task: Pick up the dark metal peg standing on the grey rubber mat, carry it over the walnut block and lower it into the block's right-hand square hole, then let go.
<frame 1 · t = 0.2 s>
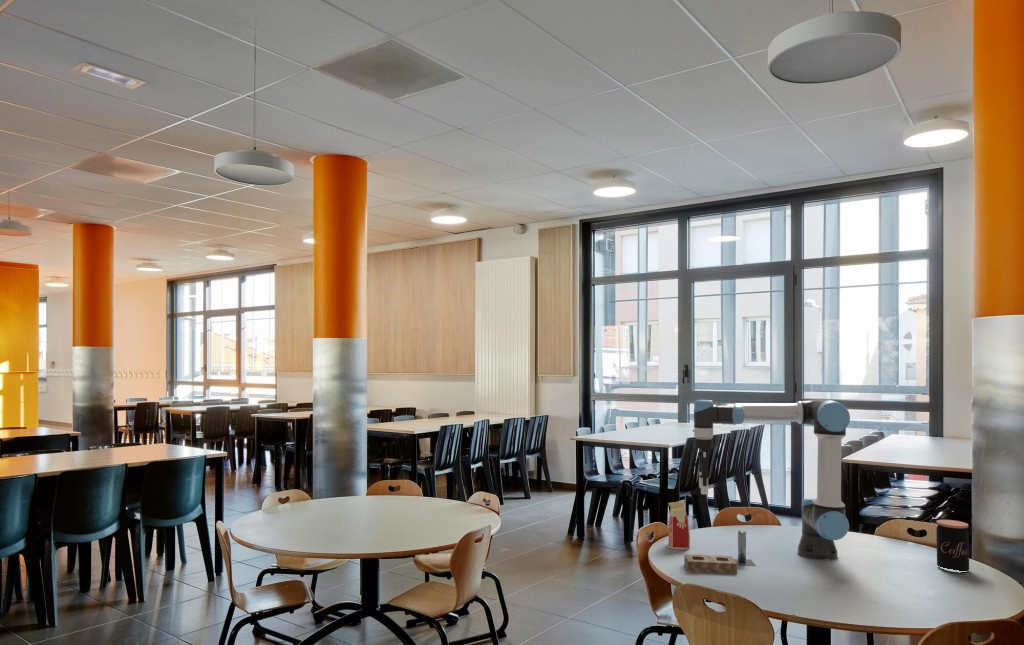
hand: (703, 491, 280), 27 cm above the table, fingers open, 13 cm apart
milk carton: (678, 547, 297), on the table
mat: (742, 563, 274), on the table
hole block: (710, 569, 266), on the table
coffee jar: (953, 570, 270), on the table
peg: (742, 562, 274), resting on mat
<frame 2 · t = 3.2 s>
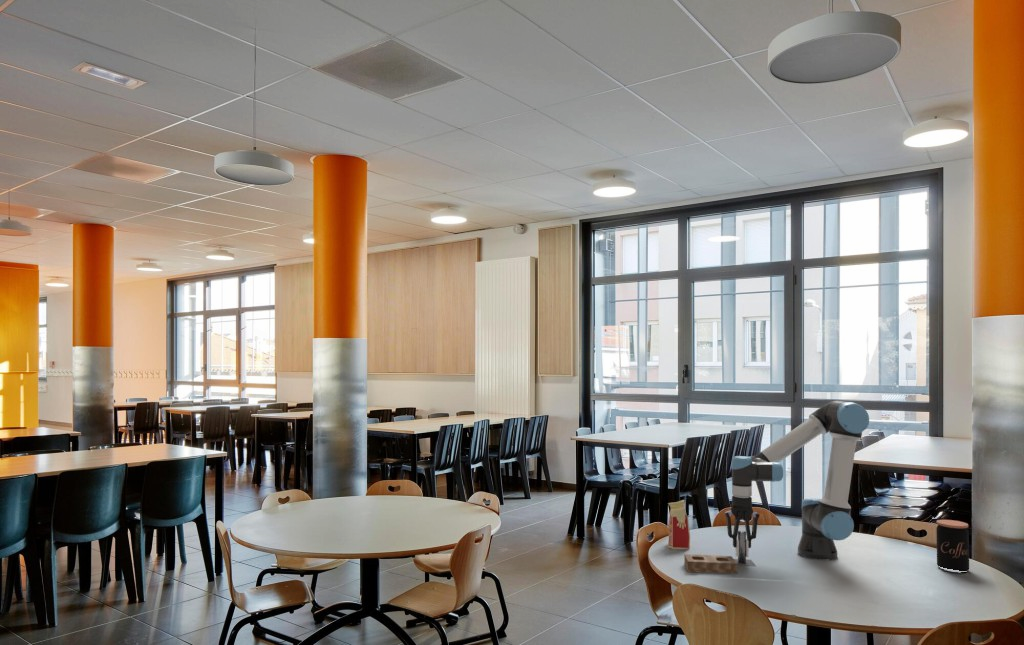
hand: (741, 555, 274), 3 cm above the table, fingers closed on peg, 3 cm apart
peg: (742, 562, 274), resting on mat, touching gripper
everything else where it was.
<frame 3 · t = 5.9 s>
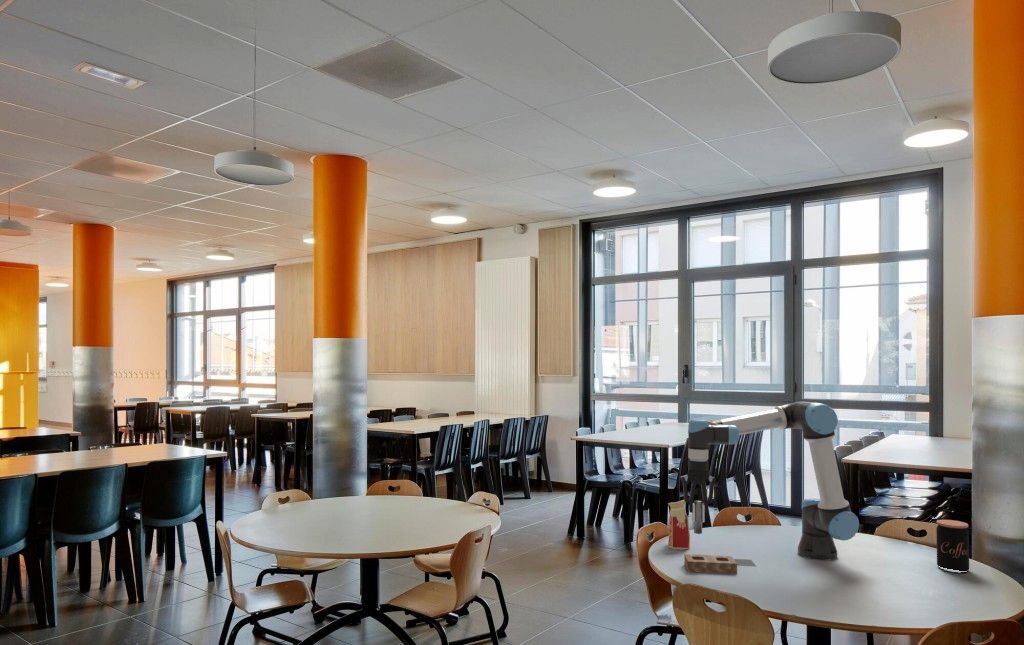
hand: (698, 521, 267), 18 cm above the table, fingers closed on peg, 3 cm apart
peg: (698, 532, 267), point 14 cm above the table, touching gripper
everything else where it was.
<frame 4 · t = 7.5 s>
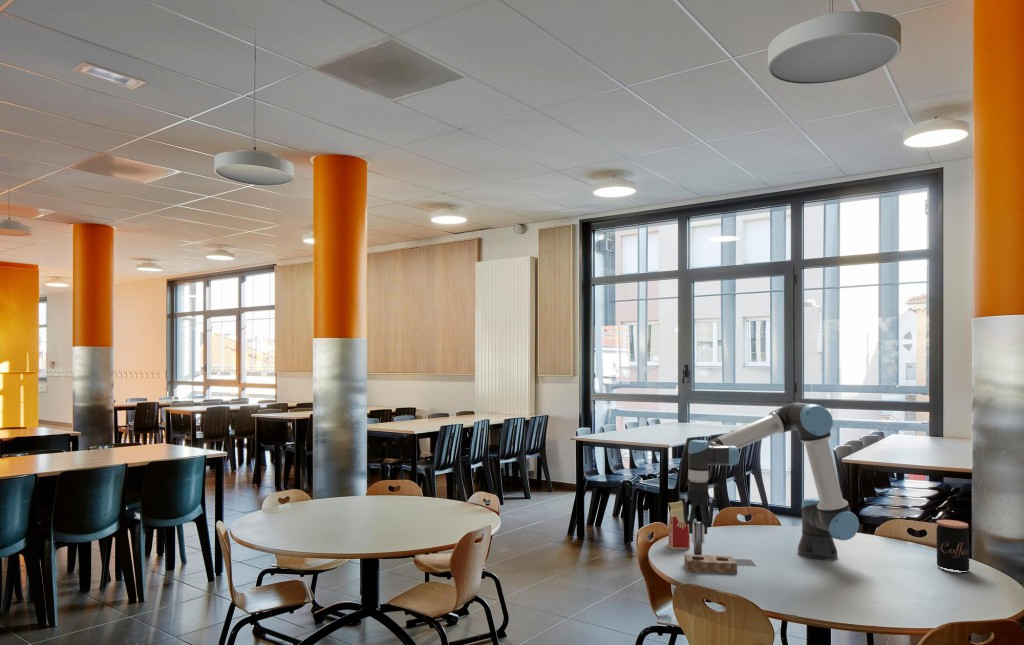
hand: (697, 542, 267), 10 cm above the table, fingers closed on peg, 3 cm apart
peg: (697, 554, 266), point 6 cm above the table, touching gripper
everything else where it was.
when the fingers open (5 cm above the table, at t = 8.8 s): peg drops 1 cm, resting in hole block.
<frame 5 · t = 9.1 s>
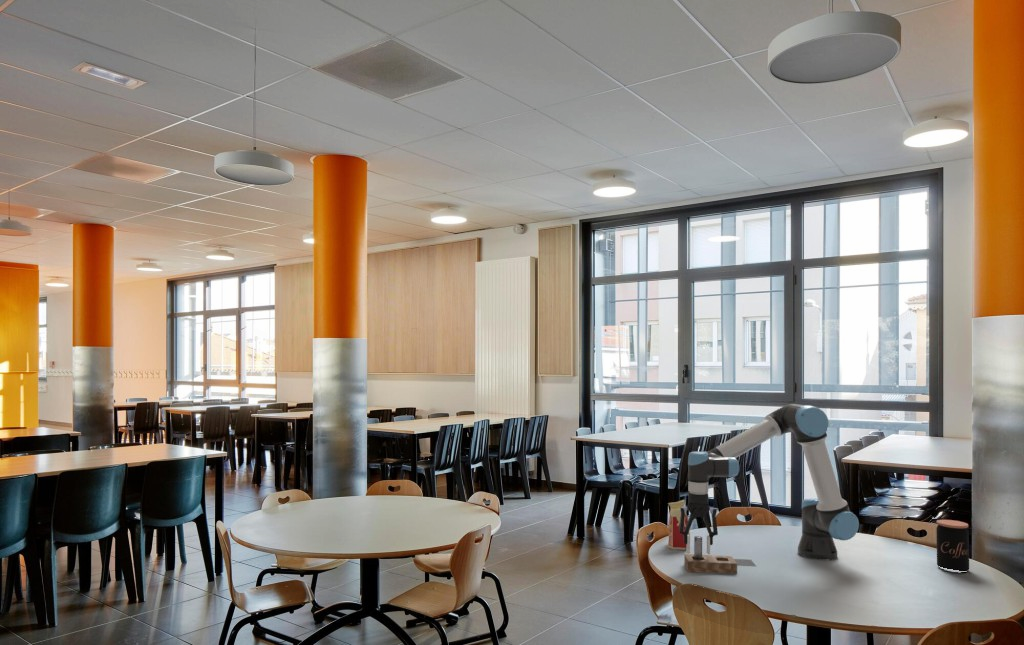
hand: (698, 552, 266), 6 cm above the table, fingers open, 7 cm apart
peg: (698, 568, 266), resting in hole block
everything else where it was.
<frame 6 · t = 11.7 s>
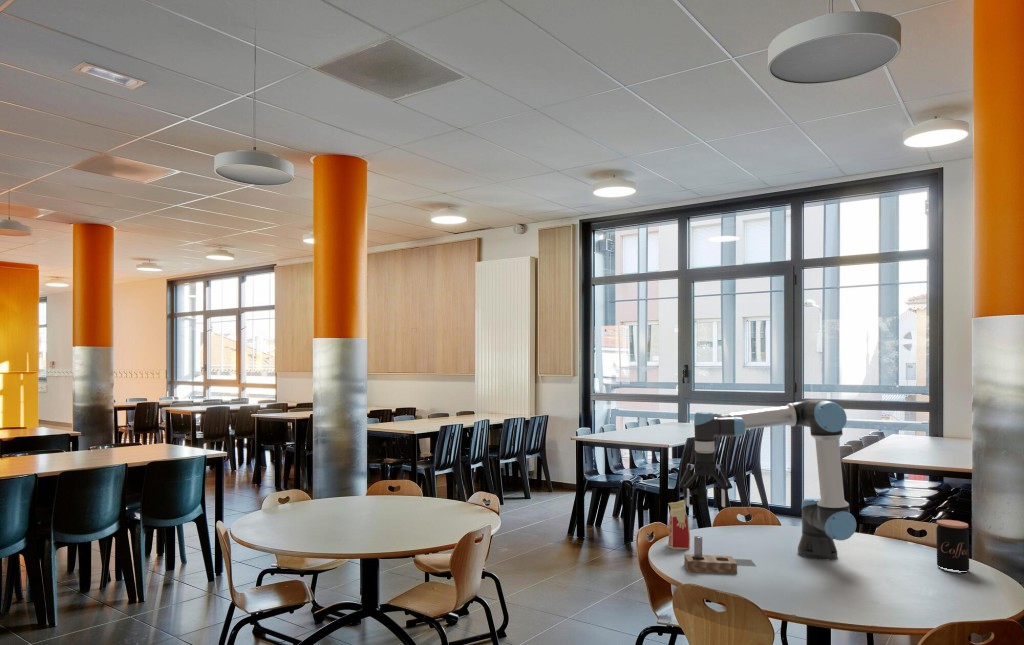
hand: (705, 506, 272), 23 cm above the table, fingers open, 13 cm apart
nothing on the table moved.
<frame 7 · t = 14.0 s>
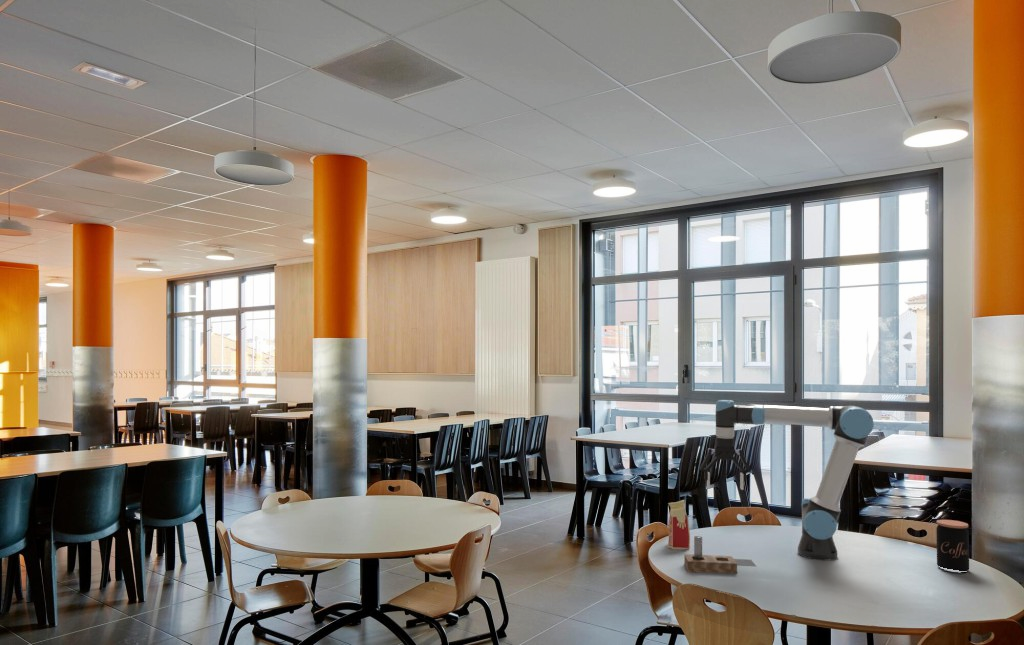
hand: (725, 488, 289), 27 cm above the table, fingers open, 13 cm apart
nothing on the table moved.
at the end: peg 0.0 cm from the target spot on the hole block, point 0.0 cm above the hole block's base; peg tilted 0°; the gripper is holding nothing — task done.
